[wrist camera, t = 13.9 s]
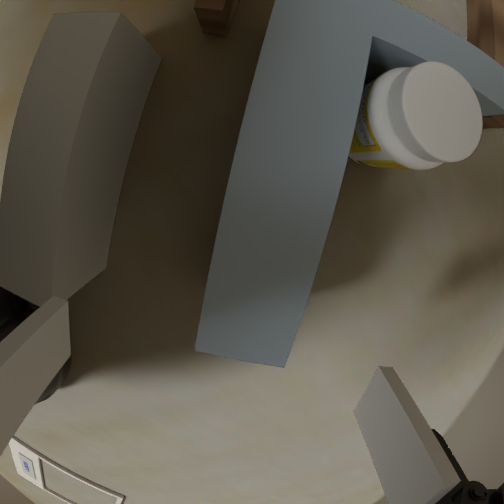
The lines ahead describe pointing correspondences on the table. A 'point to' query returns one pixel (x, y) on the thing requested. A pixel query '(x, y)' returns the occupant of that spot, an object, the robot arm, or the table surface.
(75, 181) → the plain bar
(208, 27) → the wooden u-shaped frame
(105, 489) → the photo frame
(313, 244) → the grey l-shaped block
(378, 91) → the supplement bottle
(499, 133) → the table surface
